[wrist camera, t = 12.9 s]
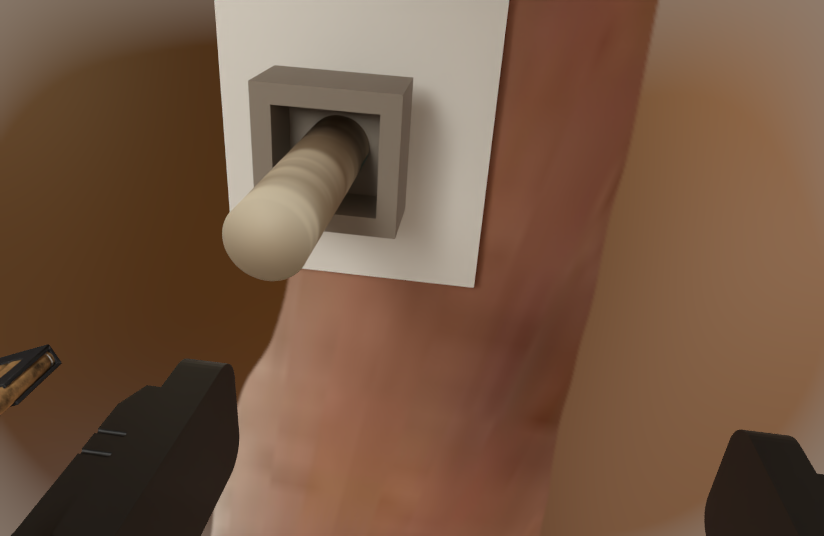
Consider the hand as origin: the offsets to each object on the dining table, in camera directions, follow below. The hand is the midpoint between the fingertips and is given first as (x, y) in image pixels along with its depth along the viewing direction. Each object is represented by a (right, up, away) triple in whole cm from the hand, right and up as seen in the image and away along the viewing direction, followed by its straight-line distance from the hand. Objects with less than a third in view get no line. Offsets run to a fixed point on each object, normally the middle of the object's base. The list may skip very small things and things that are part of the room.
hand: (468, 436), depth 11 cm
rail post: (-5, +9, +23) cm, 25 cm away
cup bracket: (-4, +12, +29) cm, 31 cm away
